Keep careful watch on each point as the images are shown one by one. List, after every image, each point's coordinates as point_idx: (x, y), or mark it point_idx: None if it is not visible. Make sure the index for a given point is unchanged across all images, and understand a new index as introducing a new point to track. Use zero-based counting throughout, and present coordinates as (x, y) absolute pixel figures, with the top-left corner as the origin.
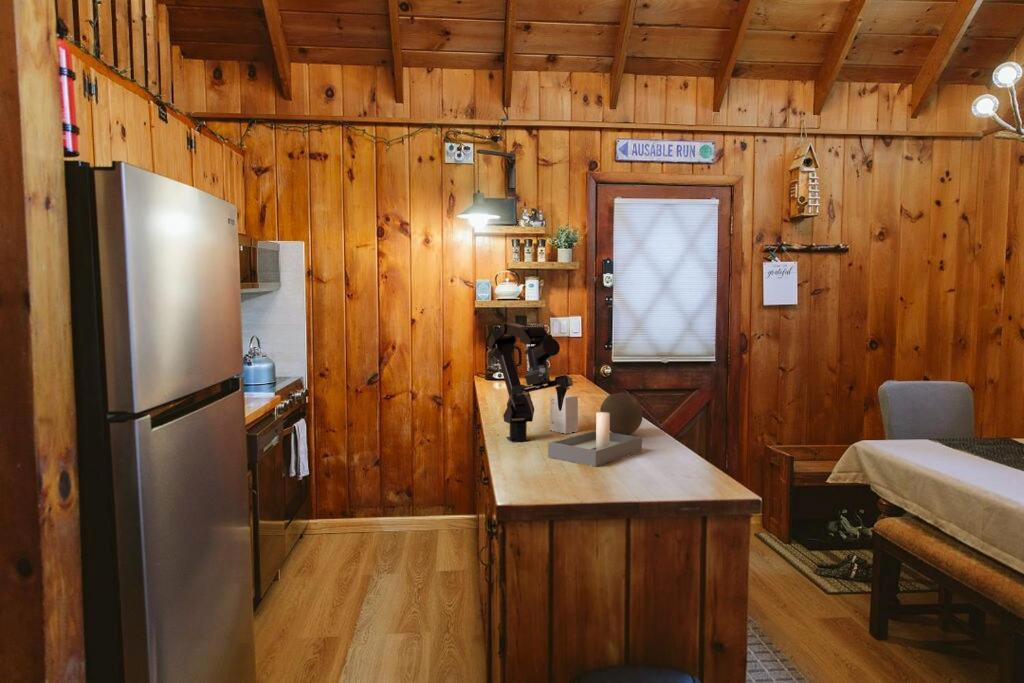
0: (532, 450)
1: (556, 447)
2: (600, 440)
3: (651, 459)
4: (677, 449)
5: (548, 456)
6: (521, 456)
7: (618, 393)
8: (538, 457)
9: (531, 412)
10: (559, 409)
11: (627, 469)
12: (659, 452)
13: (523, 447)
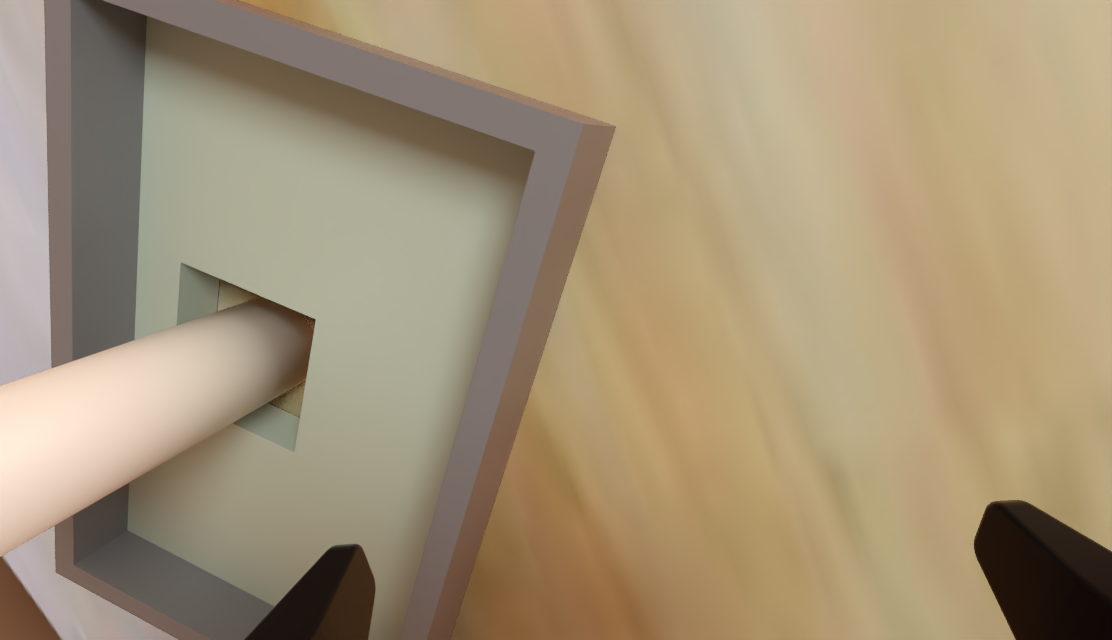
0: (854, 342)
1: (487, 89)
2: (162, 334)
3: (34, 347)
4: (48, 598)
5: (612, 125)
6: (902, 43)
7: None
8: (705, 84)
9: (1049, 553)
10: (337, 553)
11: (8, 27)
12: None
13: (990, 436)
